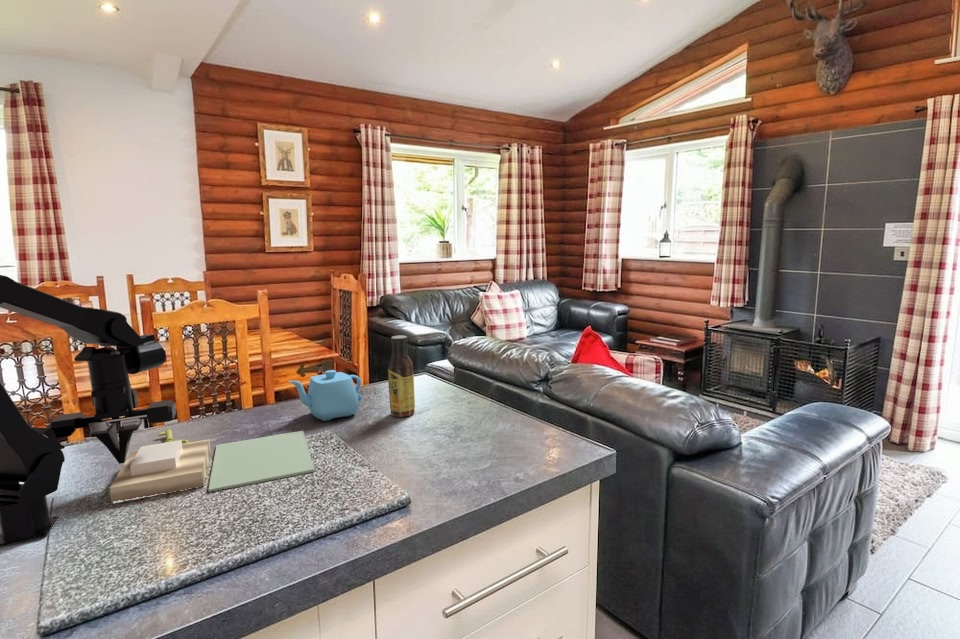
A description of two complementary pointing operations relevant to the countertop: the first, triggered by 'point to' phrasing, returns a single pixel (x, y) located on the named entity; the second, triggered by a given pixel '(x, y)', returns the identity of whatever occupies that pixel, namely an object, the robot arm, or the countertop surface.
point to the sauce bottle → (401, 379)
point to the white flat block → (156, 458)
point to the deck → (164, 474)
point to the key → (170, 436)
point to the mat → (260, 460)
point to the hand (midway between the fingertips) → (122, 462)
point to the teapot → (331, 395)
